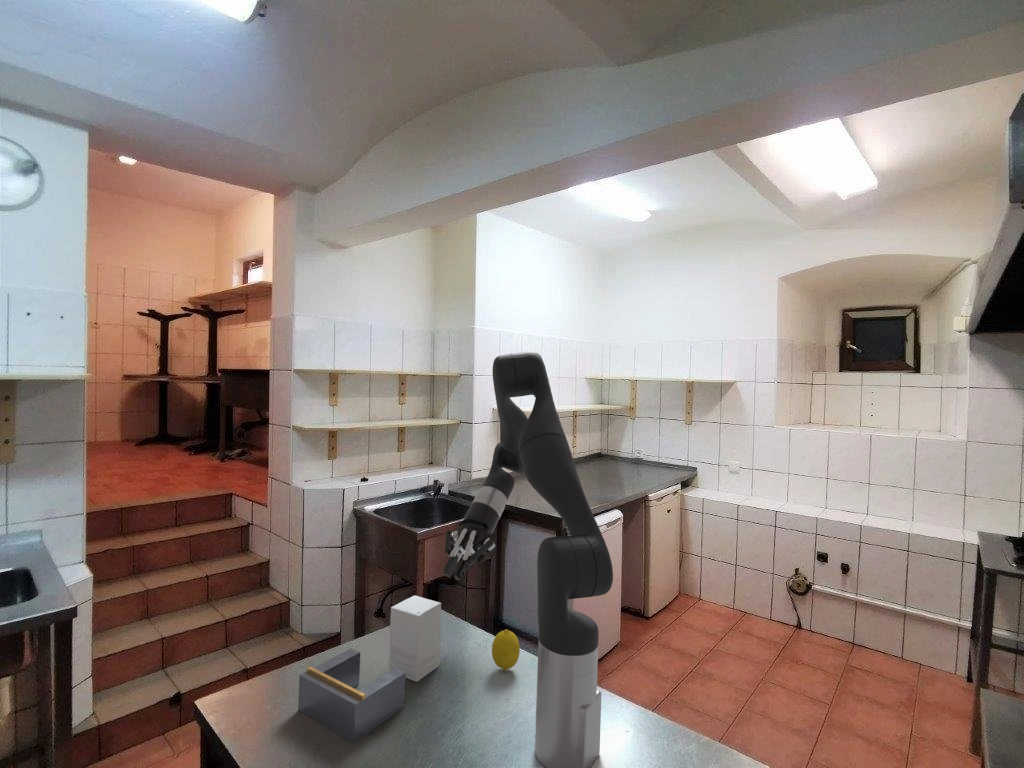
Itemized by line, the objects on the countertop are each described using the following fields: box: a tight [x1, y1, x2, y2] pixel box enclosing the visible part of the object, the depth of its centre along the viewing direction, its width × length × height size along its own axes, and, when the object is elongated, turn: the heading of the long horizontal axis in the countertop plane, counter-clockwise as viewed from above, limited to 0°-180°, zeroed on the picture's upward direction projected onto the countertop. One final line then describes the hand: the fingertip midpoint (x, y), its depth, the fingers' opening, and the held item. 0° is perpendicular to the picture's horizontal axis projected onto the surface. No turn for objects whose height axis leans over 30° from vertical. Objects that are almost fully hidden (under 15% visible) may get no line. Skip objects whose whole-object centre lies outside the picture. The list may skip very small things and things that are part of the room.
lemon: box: [491, 629, 521, 672], centre depth 100 cm, size 6×6×8 cm
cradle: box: [297, 647, 406, 744], centre depth 86 cm, size 14×11×7 cm
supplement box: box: [388, 595, 442, 683], centre depth 99 cm, size 7×7×13 cm
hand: (451, 576), depth 109 cm, fingers closed
